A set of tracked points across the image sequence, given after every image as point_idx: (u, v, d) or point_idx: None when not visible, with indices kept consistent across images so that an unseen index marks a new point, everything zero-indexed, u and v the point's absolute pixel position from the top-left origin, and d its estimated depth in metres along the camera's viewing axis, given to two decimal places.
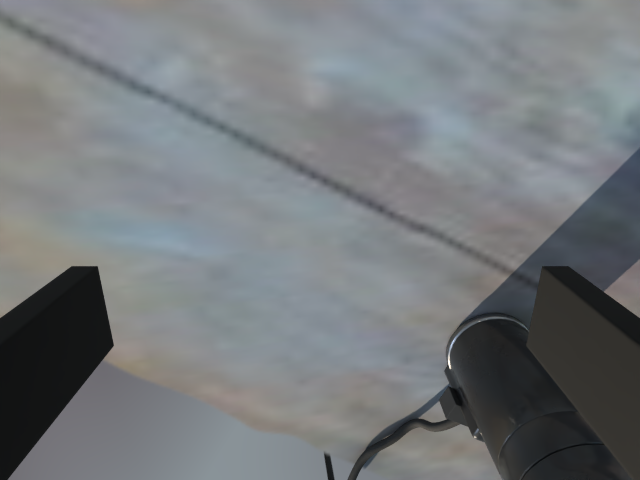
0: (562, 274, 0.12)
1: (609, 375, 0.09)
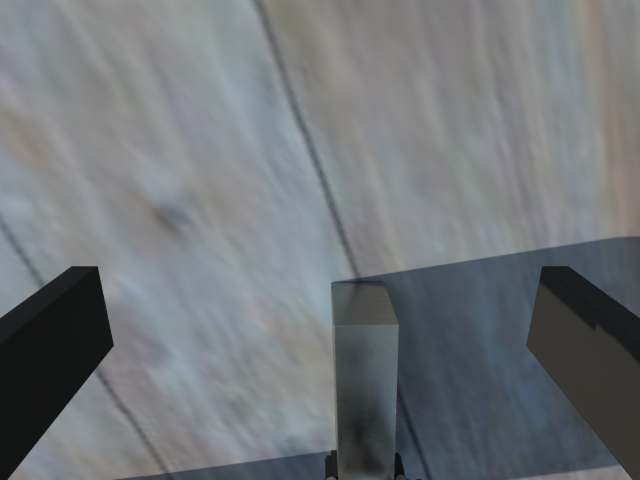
0: (562, 274, 0.12)
1: (609, 375, 0.09)
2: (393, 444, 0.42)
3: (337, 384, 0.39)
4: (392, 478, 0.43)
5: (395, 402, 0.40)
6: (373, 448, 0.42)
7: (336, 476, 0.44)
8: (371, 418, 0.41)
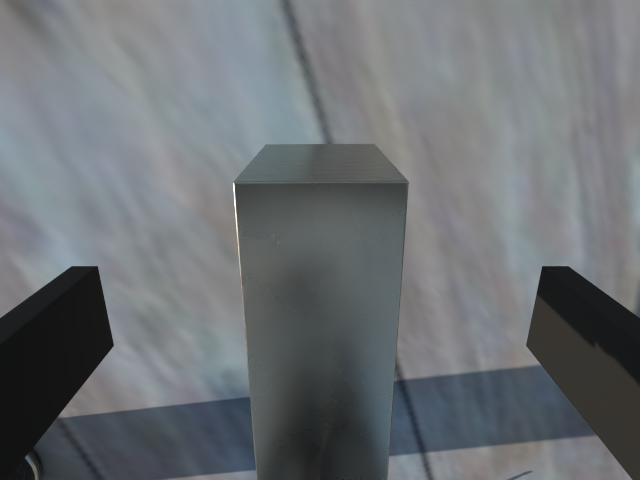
0: (562, 274, 0.12)
1: (609, 375, 0.09)
2: None
3: (250, 344, 0.16)
4: None
5: (390, 392, 0.17)
6: None
7: None
8: (333, 428, 0.17)
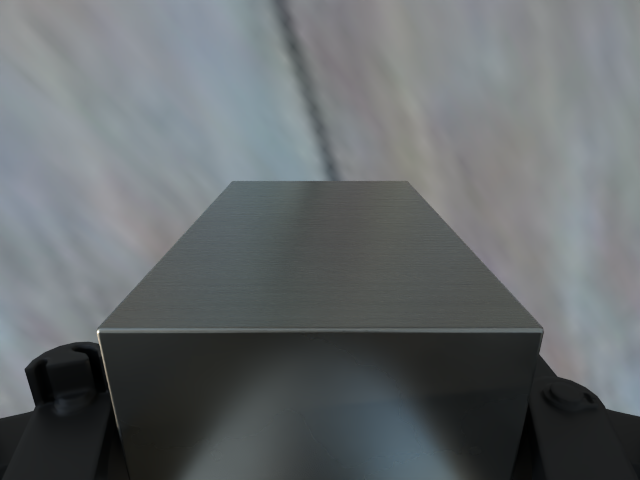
0: None
1: None
2: None
3: None
4: None
5: None
6: None
7: None
8: None
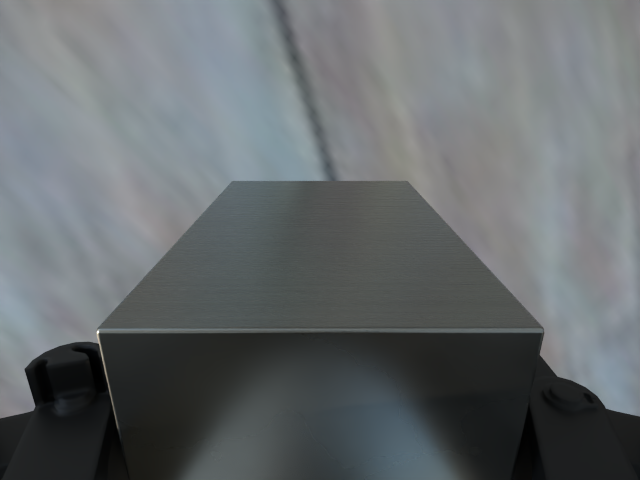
0: None
1: None
2: None
3: None
4: None
5: None
6: None
7: None
8: None
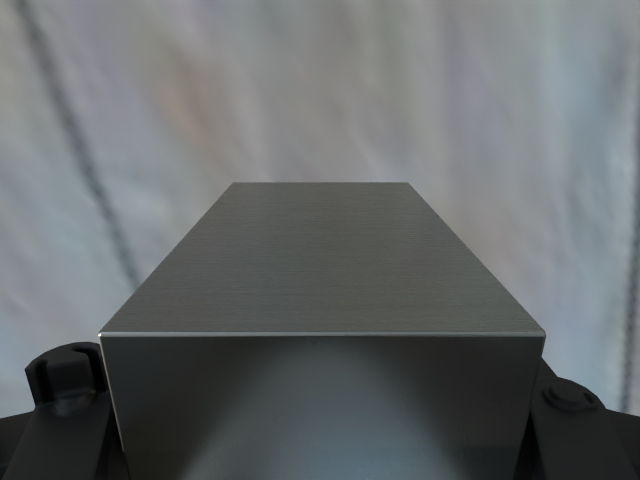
0: None
1: None
2: None
3: None
4: None
5: None
6: None
7: None
8: None
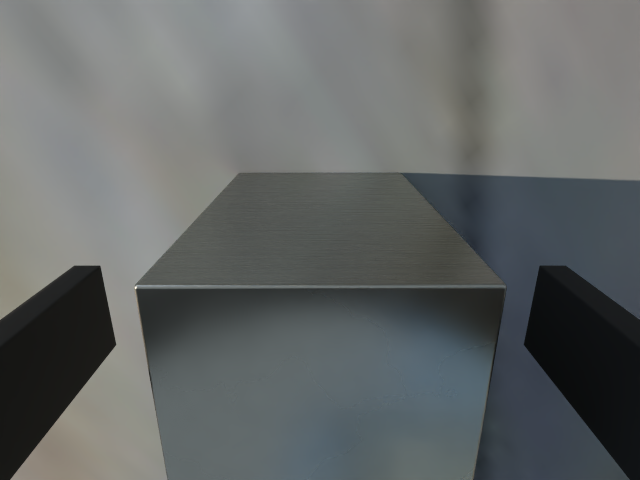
0: (559, 273, 0.12)
1: (605, 373, 0.09)
2: None
3: None
4: None
5: None
6: None
7: None
8: None
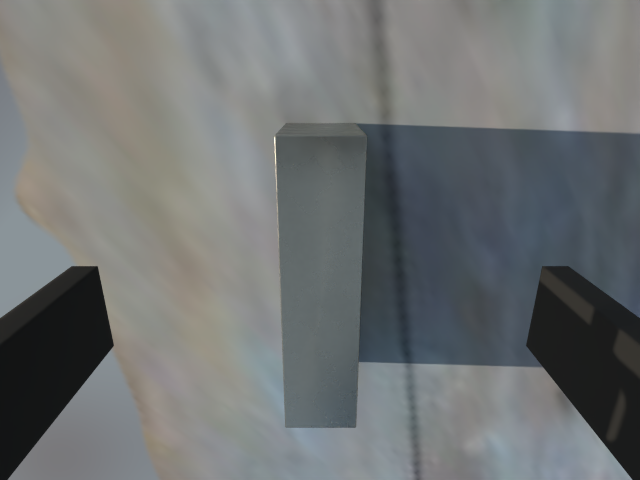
0: (562, 274, 0.12)
1: (609, 375, 0.09)
2: (357, 327, 0.31)
3: (280, 231, 0.28)
4: (355, 378, 0.32)
5: (360, 262, 0.29)
6: (330, 332, 0.31)
7: None
8: (327, 286, 0.30)
